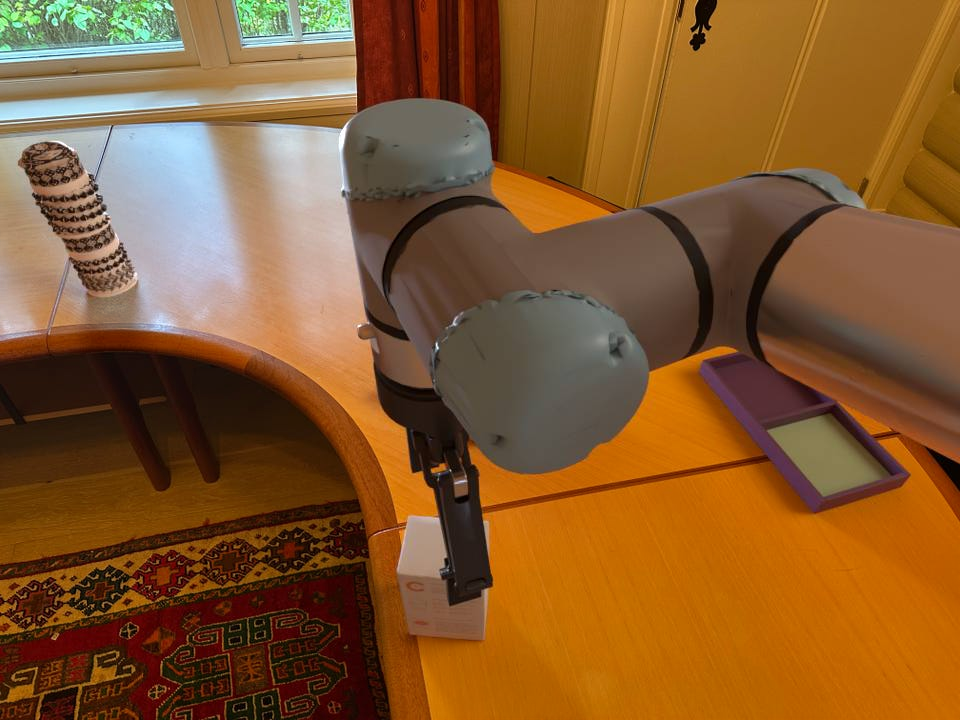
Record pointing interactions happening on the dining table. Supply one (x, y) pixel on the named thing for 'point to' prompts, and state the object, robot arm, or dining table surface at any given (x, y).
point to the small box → (435, 586)
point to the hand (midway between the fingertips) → (442, 526)
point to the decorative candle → (78, 217)
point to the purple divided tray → (804, 433)
